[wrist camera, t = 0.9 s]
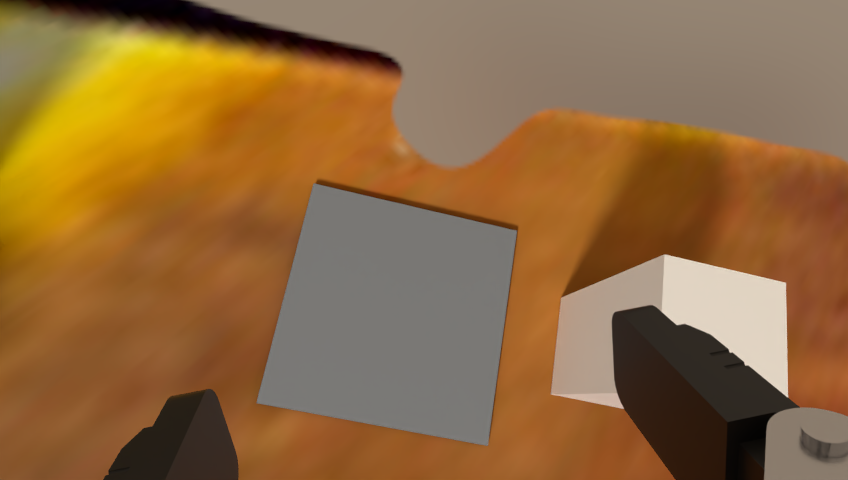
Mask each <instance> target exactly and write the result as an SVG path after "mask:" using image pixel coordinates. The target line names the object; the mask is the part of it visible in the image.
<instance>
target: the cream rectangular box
mask: <svg viewBox="0 0 848 480" xmlns="http://www.w3.org/2000/svg"><path fill="white" fill-rule="evenodd" d="M647 305H653V306H655V307H657V308H658V309H659V310H660V311H661V312H662V313H664V314H665V315H666V316H667V317H668V318H669V319H670V320H671V321H673V322H674V323H675V324H676V325H681V324H687V325H689V326H692V327H694V328H696V329H699V330H701V331H704V332H706V333H708V334H711V335H712V336H713V337H714V338H716V339H717V340H718V341H719V342H720V343H722V344H723V345H724V346H725V347H727V348H728V349H729V352H730V353H732V352H733V353H734V354H735V355H736V356H738V357H739V358H740V359H741V360H742V361H744V364H745V366H746V365H749V366H750V367H751V368H752V369H753V370H755V371H756V372H757V373H758V374H760V375H761V376H762V377H763V378H764V379H766V380H767V381H768V382H769V383H771V384H772V385H773V386H774V387H775V388H777V389H778V390H779V391H780V392H782V393H783V394H784V395H785V396H786V397H788V372H787V318H786V283H784V282H780V281H776V280H772V279H767V278H763V277H759V276H755V275H750V274H746V273H742V272H738V271H733V270H729V269H725V268H721V267H716V266H712V265H708V264H704V263H699V262H695V261H691V260H687V259H682V258H678V257H674V256H670V255H665V254H664V255H662V256H659V257H657V258H655V259H652V260H650V261H647V262H645V263H643V264H640V265H638V266H636V267H633V268H631V269H628V270H626V271H624V272H621V273H619V274H617V275H614V276H612V277H609V278H607V279H605V280H602V281H600V282H597V283H595V284H593V285H590V286H588V287H586V288H583V289H581V290H578V291H576V292H574V293H571V294H569V295H566V296H564V297H562V298H561V304H560V313H559V323H558V332H557V341H556V351H555V360H554V370H553V379H552V388H551V394H552V395H557V396H562V397H567V398H572V399H577V400H582V401H587V402H592V403H597V404H602V405H607V406H612V407H617V408H622V409H624V408H623V406H622V404H621V402H620V399H619V397H618V394H617V391H616V387H615V381H614V365H613V343H612V316H613V314H614V312H616V311H622V310H627V309H632V308H637V307H642V306H647Z"/></svg>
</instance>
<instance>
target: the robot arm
mask: <svg viewBox="0 0 848 480" xmlns="http://www.w3.org/2000/svg"><path fill="white" fill-rule="evenodd" d="M612 343H613V365H614V381H615V387H616V391H617V394H618V397H619V399H620V402H621V404H622V406H623V408H624V409H625V411H626V412H627V413H628V415H629V416H630V418H631V419H632V420H633V422H634V423H635V424H636V426H637V427H638V429H639V430H640V431H641V433H642V434H643V435H644V437H645V438H646V440H647V441H648V442H649V444H650V445H651V446H652V448H653V449H654V451H655V452H656V453H657V455H658V456H659V457H660V459H661V460H662V462H663V463H664V464H665V466H666V467H667V468H668V470H669V471H670V472H671V474H672V475H673V477H674V478H675V479H676V480H848V417H847V416H845V415H842V414H839V413H835V412H832V411H828V410H823V409H816V408H800V407H799V406H797V405H796V404H795V403H794V402H793V401H791V400H790V399H789V398H788V397H786V396H785V395H784V394H783V393H782V392H780V391H779V390H778V389H777V388H775V387H774V386H773V385H772V384H771V383H769V382H768V381H767V380H766V379H764V378H763V377H762V376H761V375H760V374H758V373H757V372H756V371H755V370H753V369H752V368H751V367H750V366H749V365H746V366H745V364H744V361H742V360H741V359H740V358H739V357H738V356H736V355H735V354H734V353H733V352H732V353H730V352H729V349H728V348H727V347H725V346H724V345H723V344H722V343H720V342H719V341H718V340H717V339H716V338H714V337H713V336H712V335H711V334H708V333H706V332H704V331H701V330H699V329H696V328H694V327H692V326H689V325H687V324H681V325H676V324H675V323H674V322H673V321H671V320H670V319H669V318H668V317H667V316H666V315H665V314H664V313H662V312H661V311H660V310H659V309H658V308H657V307H655V306H653V305H647V306H642V307H637V308H632V309H627V310H622V311H616V312H614V314H613V316H612ZM103 480H238V460H237V455H236V451H235V448H234V445H233V442H232V439H231V436H230V433H229V430H228V427H227V424H226V421H225V418H224V415H223V412H222V409H221V406H220V403H219V400H218V398H217V396H216V394H215V392H214V391H213V390H211V389H207V390H202V391H196V392H191V393H186V394H181V395H176V396H171V397H170V398H169V399H168V400H167V401H166V403H165V405H164V407H163V409H162V410H161V412H160V414H159V416H158V418H157V419H156V421H155V423H154V425H153V426H152V427H147V428H144V429H142V430H141V431H140V432H139V433H138V434H137V435H136V436H135V437H134V438H133V439H132V440H131V441H130V442H129V443H128V444H126V445H125V446H124V447H123V448H122V449H121V451H120V453H119V454H118V456H117V458H116V459H115V461H114V463H113V464H112V466H111V468H110V469H109V475H106V476H105V478H104V479H103Z"/></svg>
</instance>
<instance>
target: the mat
mask: <svg viewBox="0 0 848 480" xmlns="http://www.w3.org/2000/svg"><path fill="white" fill-rule="evenodd" d="M516 235H517V231H516V230H511V229H507V228H503V227H499V226H494V225H490V224H486V223H481V222H477V221H473V220H469V219H464V218H460V217H456V216H451V215H447V214H443V213H439V212H434V211H430V210H426V209H421V208H417V207H413V206H408V205H404V204H400V203H396V202H391V201H387V200H383V199H378V198H374V197H370V196H366V195H361V194H357V193H353V192H348V191H344V190H340V189H336V188H331V187H327V186H323V185H318V184H313V188H312V192H311V196H310V199H309V203H308V207H307V211H306V215H305V219H304V222H303V226H302V230H301V234H300V238H299V242H298V246H297V249H296V253H295V257H294V261H293V265H292V269H291V272H290V276H289V280H288V284H287V288H286V292H285V295H284V299H283V303H282V307H281V311H280V315H279V318H278V322H277V326H276V330H275V334H274V338H273V341H272V345H271V349H270V353H269V357H268V361H267V364H266V368H265V372H264V376H263V380H262V384H261V387H260V391H259V395H258V399H257V403H259V404H265V405H270V406H275V407H281V408H286V409H292V410H297V411H302V412H308V413H313V414H319V415H324V416H329V417H335V418H340V419H346V420H351V421H356V422H362V423H367V424H373V425H378V426H383V427H389V428H394V429H400V430H405V431H410V432H416V433H421V434H427V435H432V436H437V437H443V438H448V439H454V440H459V441H464V442H470V443H475V444H481V445H486V446H488V440H489V433H490V426H491V418H492V411H493V404H494V396H495V389H496V382H497V374H498V367H499V360H500V352H501V345H502V338H503V330H504V323H505V315H506V308H507V301H508V293H509V286H510V279H511V271H512V264H513V257H514V249H515V242H516Z"/></svg>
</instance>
